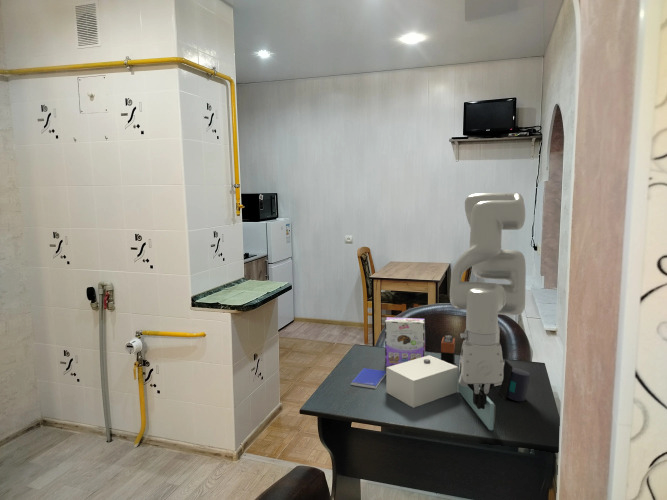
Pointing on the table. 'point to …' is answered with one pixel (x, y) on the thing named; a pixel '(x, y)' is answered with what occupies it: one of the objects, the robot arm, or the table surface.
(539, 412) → the table surface
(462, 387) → the side door
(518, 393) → the speaker
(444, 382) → the white knobbed box
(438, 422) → the table surface
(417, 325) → the candy box
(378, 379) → the hard drive
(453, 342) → the battery
